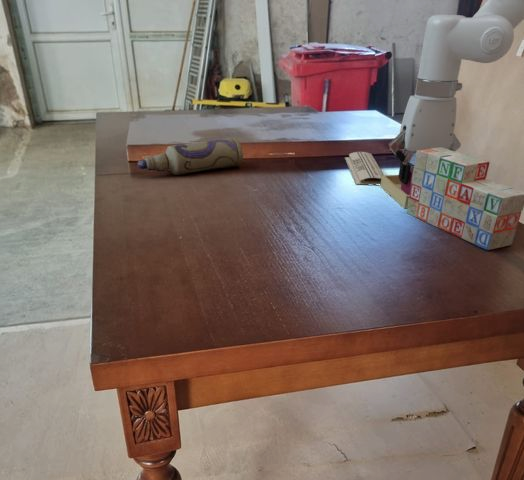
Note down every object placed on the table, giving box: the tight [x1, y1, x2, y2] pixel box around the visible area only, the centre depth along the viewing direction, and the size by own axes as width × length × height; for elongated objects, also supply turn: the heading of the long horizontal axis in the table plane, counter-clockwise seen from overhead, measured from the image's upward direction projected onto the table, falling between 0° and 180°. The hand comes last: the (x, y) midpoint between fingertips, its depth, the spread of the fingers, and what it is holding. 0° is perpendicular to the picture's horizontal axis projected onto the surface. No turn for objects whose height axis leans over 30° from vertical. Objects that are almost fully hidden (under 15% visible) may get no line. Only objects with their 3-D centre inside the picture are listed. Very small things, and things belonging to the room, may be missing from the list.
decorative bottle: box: [136, 137, 244, 176], centre depth 125 cm, size 26×8×7 cm, turn 119°
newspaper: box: [344, 151, 384, 185], centre depth 130 cm, size 24×7×2 cm, turn 179°
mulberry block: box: [401, 166, 414, 195], centre depth 113 cm, size 5×5×5 cm
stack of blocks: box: [406, 147, 524, 251], centre depth 95 cm, size 21×6×12 cm, turn 27°
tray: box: [379, 174, 410, 209], centre depth 114 cm, size 11×15×3 cm
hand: (418, 181), depth 112 cm, fingers open, 6 cm apart
